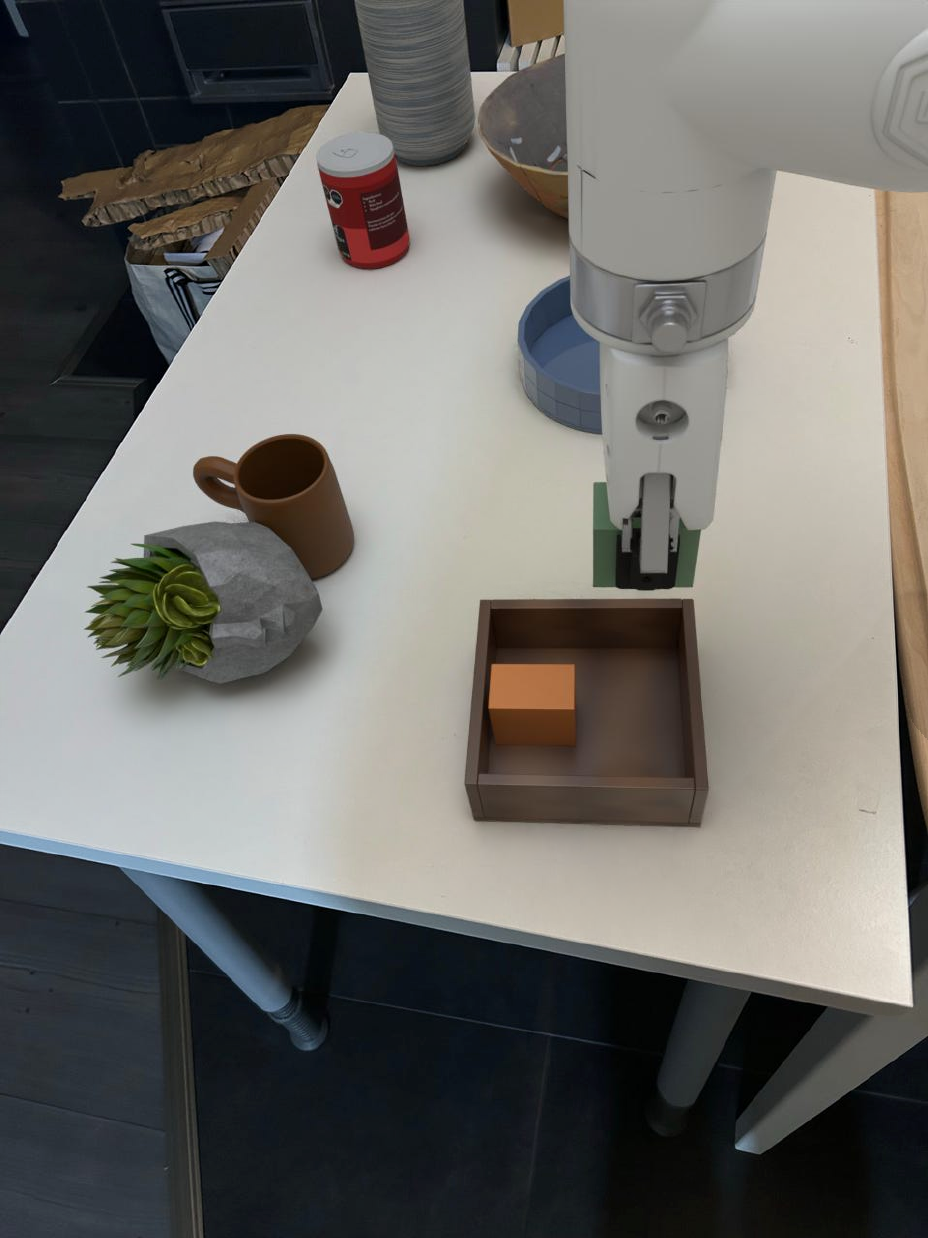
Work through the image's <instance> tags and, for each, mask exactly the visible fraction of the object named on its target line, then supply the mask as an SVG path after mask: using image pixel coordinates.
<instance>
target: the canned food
mask: <svg viewBox="0 0 928 1238" xmlns="http://www.w3.org/2000/svg"><path fill="white" fill-rule="evenodd" d="M316 164H317V170H318V173H319V178H320V182H321V186H322V190H323V195H324V198H325V202H326V206H327V209H328V215H329V217H330V222H331V226H332V229H333V234H334V237H335V241H336V245H337V249H338V252H339V254H340V256H341V257H342V259H343V260H344V261H345V262H346V263H347V264H349V265H350V266H353V267H354V268H359V269H367V270H371V269H373V270H374V269H380V268H385V267H387V266H390V265H392V264H393V265H394V264H395V263H397V262H398V261H399V260H400V259H402V258H403V257H404V256H405V255H406V254H407V252H408V250H409V247H410V231H409V227H408V221H407V216H406V215H407V214H406V208H405V203H404V198H403V192H402V186H401V180H400V174H399V168H398V162H397V156H396V154H395V152H394V148H393V144H392V142H391V140H389V139H388V138H387V137H385V136H384V135H381V134H379V132H378V133H377V132H371V131H370V132H369V131H362V132H361V131H358V132H357V131H356V132H350V133H345V134H342V135H339V136H337V137H334V138H332V139H330V140H328V141H327V142H325V143H324V144H322V146H321V147H320V148H319V149H318V150H317V152H316Z"/></svg>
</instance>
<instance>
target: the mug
mask: <svg viewBox="0 0 928 1238" xmlns="http://www.w3.org/2000/svg"><path fill="white" fill-rule="evenodd" d="M192 477H193V479H194V482H195V484H196V486H197V487H198V489H199V490H200V491H201V492H202V493H203V494H204V495H205V496H207V497H208V498H209V499H210V500H212V501H213V502H214V503H217V504H219V505H221V506H224V507H226V508H230V509H232V510H233V509H234V510H238V511H239V512H242V513H243V514H244V515H245V516H246V519H247V522H255V523H258V524H260V525H263V526H265V527H267V528H269V529H270V530H271V531H272V532H274V533H275V534H276V535H277V536H278V537H279V538H280V539H281V540H282V541H284V542H285V543H286V544H287V545H288V546H289V547H290V548H291V549H292V550H293V552H294V553H295V555H296V556H297V558H298V559H299V561H300V563H301V564H302V566H303V567H304V569H305V570H306V572H307V573H308V575H309V577H310V579H311V580H313V579H317V578H321V577H324V576H326V575H329V574H330V573H332V572H333V571H335V570H337V569H338V568H340V566H341V565H342V564H343V563H345V561H346V560H347V559H348V557H349V555H350V554H351V552H352V549H353V547H354V540H355V533H354V528H353V524H352V521H351V517H350V514H349V510H348V508H347V503H346V501H345V498H344V494H343V492H342V488H341V486H340V482H339V479H338V476H337V472H336V469H335V466H334V465H333V463H332V460H331V459H330V455H329V453H328V451H327V450H326V448H325V447H324V445H322V444H321V443H320V442H319V441H317V439H314V438H312V437H310V436H307V435H304V434H299V433H285V434H278V435H273V436H271V437H267V438H265V439H263V440H260V441H259V442H257V443H256V444H253V445H252V446H251V447H249V448H248V449H247V450H246V451H245V452H244V453H243V454H242V455H241V456H240V458H239V459H238V461H237V462H235V461H232V460H229V459H227V458H225V457H221V456H216V455H209V456H204V457H201V458H199V459H198V460H197V461H196V462H195V464H194V465H193V469H192ZM221 480H222V481H221ZM225 482H227V483H229V484H232V485H234V486H230V485H229V484H226V483H225Z"/></svg>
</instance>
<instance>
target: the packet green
mask: <svg viewBox="0 0 928 1238" xmlns="http://www.w3.org/2000/svg"><path fill="white" fill-rule="evenodd" d="M592 484H593V486H592V487H593V489H592V506H593V507H592V587H593V588H617V587H616V585H615V574H616V541H617V535H622V530H620V529H618V528H617V527H616V526H615V525H614V524H613V523H612V522H611V521H610V512H609V503H608V493H607V483H606V481H594V482H593V483H592ZM633 528H641V517H637V518H634V519H633ZM701 532H702V530H688V529H687V528H686V526H685V525H684V523H683V521H682V519H681V517H680V520H679V532H678V535H680V548H679V556H678V565H677V573H676V582H675V586H674V587H673V588H693V587H694V583H695V576H696V570H697V569H696V568H697V561H698V555H699V548H700V542H701V541H700V540H701Z"/></svg>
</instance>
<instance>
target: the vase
mask: <svg viewBox="0 0 928 1238" xmlns="http://www.w3.org/2000/svg"><path fill="white" fill-rule="evenodd" d="M353 1H354V6H355V12H356V16H357V22H358V28H359V32H360V38H361V43H362V48H363V54H364V60H365V64H366V65H365V66H366V69H367V75H368V80H369V85H370V90H371V97H372V101H373V106H374V112H375V117H376V122H377V123H376V124H377V128H378V134H381V135H384V136H385V137H387V138H388V139H389V140H391V142H392V144H393V148H394V152H395V157H396V158H397V159H399V161H401V162H403V163H405V164H407V165H411V166H418V167H426V166H434V165H439V164H442V163H445V162H449V161H450V160H452V159H454V158H455V157H457V156H458V155H459V154H461V152H462V151H463V150H464V149H465V146H466V143H467V142H468V140H469V139H470V138H471V136H472V134H473V131H474V128H475V125H476V112H475V101H474V93H473V84H472V83H473V82H472V73H471V72H472V71H471V63H470V53H469V45H468V36H467V35H468V34H467V26H466V16H465V6H464V0H353Z"/></svg>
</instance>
